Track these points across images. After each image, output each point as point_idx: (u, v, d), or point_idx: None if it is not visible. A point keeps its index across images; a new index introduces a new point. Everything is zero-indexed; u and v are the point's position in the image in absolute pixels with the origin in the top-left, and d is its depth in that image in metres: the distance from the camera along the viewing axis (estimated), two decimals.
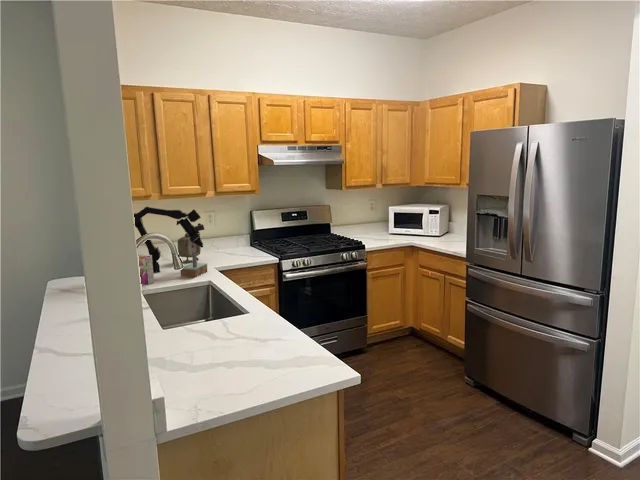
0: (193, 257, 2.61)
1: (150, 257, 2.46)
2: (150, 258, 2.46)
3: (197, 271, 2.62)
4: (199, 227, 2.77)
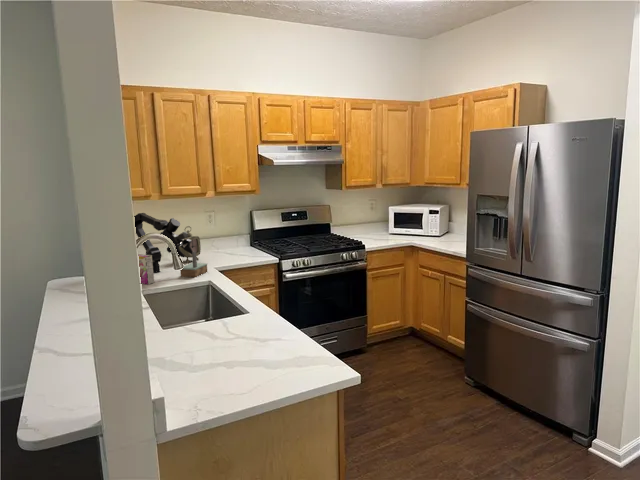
0: (193, 257, 2.61)
1: (150, 257, 2.46)
2: (150, 258, 2.46)
3: (197, 271, 2.62)
4: (179, 236, 2.59)
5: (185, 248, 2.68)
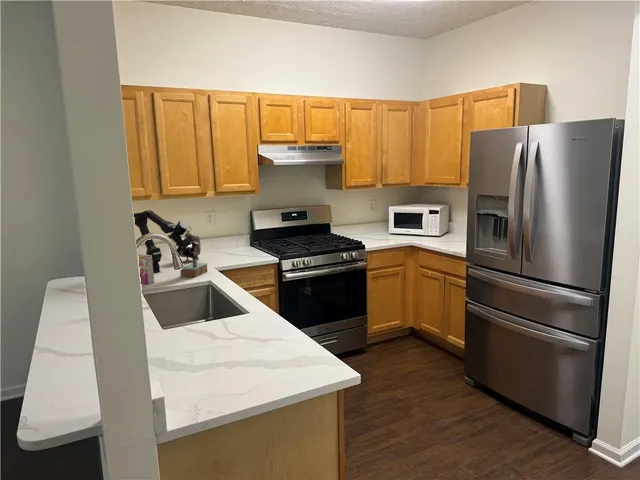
0: None
1: (150, 257, 2.46)
2: (150, 258, 2.46)
3: (197, 271, 2.62)
4: (187, 239, 2.58)
5: None
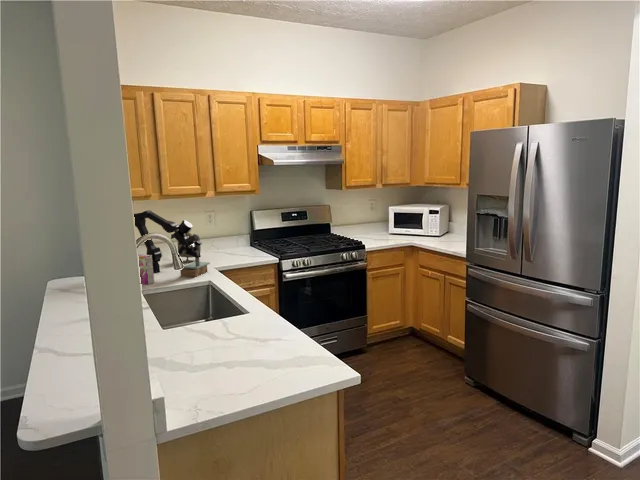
0: None
1: (150, 257, 2.46)
2: (150, 258, 2.46)
3: (197, 271, 2.62)
4: (190, 238, 2.61)
5: None
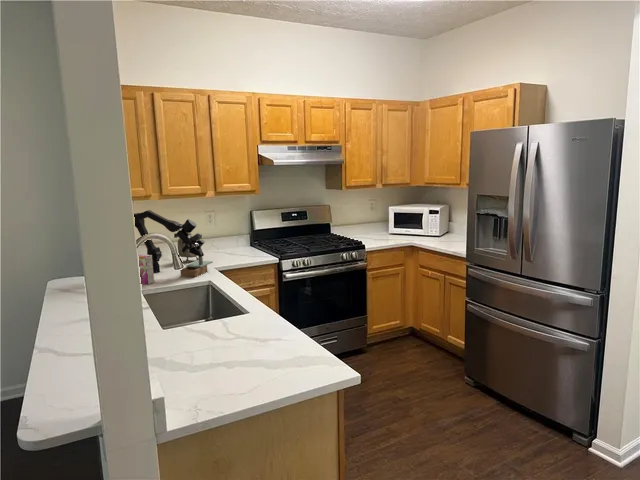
0: None
1: (150, 257, 2.46)
2: (150, 258, 2.46)
3: (197, 271, 2.62)
4: (193, 237, 2.65)
5: None
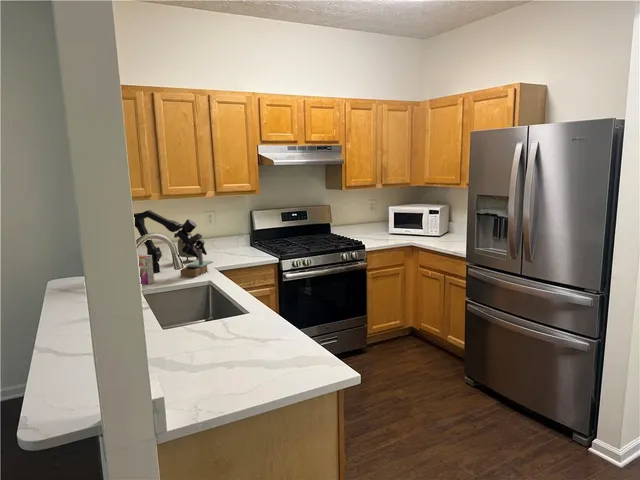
0: (199, 255, 2.67)
1: (150, 257, 2.46)
2: (150, 258, 2.46)
3: (197, 271, 2.62)
4: (193, 237, 2.65)
5: (199, 249, 2.74)
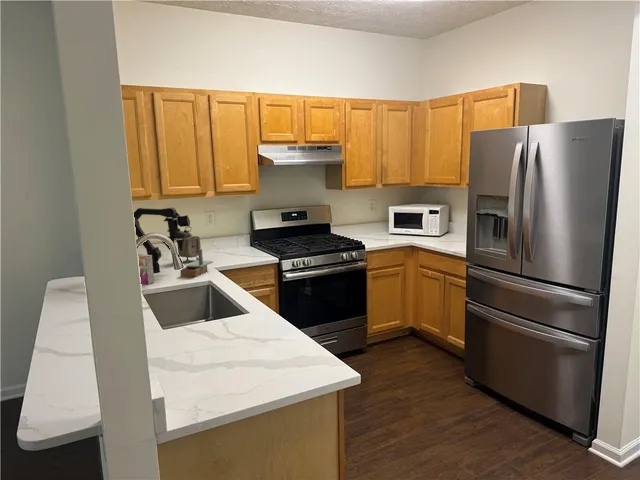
0: (199, 255, 2.67)
1: (150, 257, 2.46)
2: (150, 258, 2.46)
3: (197, 271, 2.62)
4: (180, 234, 2.68)
5: (178, 241, 2.78)
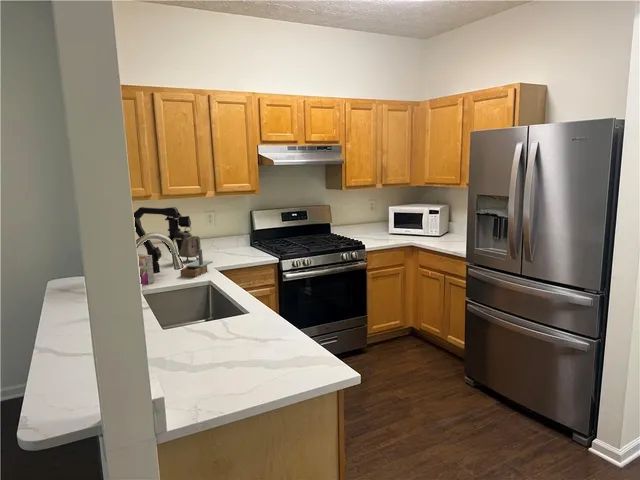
0: (199, 255, 2.67)
1: (150, 257, 2.46)
2: (150, 258, 2.46)
3: (197, 271, 2.62)
4: (180, 234, 2.68)
5: (177, 241, 2.78)
